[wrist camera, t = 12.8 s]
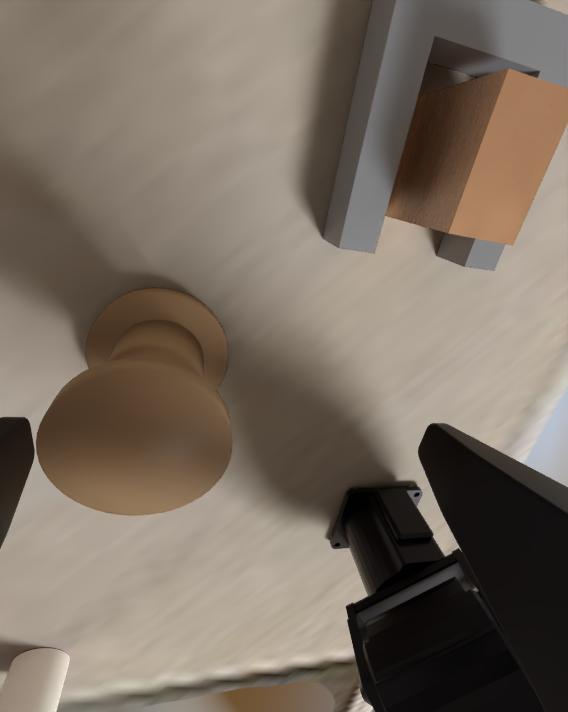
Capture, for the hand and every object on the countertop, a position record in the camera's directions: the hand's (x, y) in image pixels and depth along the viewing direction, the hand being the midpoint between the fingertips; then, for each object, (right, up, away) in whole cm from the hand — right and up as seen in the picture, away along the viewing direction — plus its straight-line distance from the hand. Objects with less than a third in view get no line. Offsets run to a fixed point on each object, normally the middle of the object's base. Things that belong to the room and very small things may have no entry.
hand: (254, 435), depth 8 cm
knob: (-6, +2, +11) cm, 13 cm away
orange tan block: (+7, +11, +10) cm, 17 cm away
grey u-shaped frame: (+7, +11, +10) cm, 17 cm away
